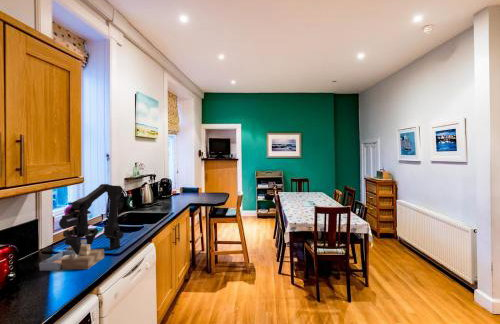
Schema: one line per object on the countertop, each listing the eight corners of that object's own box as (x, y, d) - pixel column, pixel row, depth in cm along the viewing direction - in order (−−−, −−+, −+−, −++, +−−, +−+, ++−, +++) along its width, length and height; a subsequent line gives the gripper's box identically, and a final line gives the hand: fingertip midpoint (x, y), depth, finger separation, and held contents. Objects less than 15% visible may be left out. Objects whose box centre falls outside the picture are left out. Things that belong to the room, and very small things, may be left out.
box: (63, 257, 146) (62, 250, 146) (81, 257, 146) (80, 250, 145) (39, 270, 130) (39, 263, 130) (59, 270, 130) (59, 262, 129)
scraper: (87, 249, 143) (87, 241, 143) (95, 249, 143) (95, 241, 143) (72, 259, 131) (71, 249, 131) (81, 258, 131) (80, 249, 131)
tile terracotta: (64, 259, 137) (64, 263, 137) (56, 259, 137) (56, 263, 137) (57, 263, 132) (57, 267, 132) (49, 263, 132) (49, 267, 132)
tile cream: (72, 255, 143) (72, 258, 143) (65, 255, 143) (65, 258, 143) (66, 258, 138) (67, 262, 138) (58, 258, 138) (59, 262, 138)
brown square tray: (80, 257, 145) (80, 249, 144) (104, 257, 144) (103, 248, 144) (61, 269, 131) (61, 260, 130) (88, 269, 130) (87, 259, 130)
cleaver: (67, 257, 147) (67, 253, 147) (49, 259, 145) (48, 255, 145) (91, 240, 176) (91, 237, 176) (76, 241, 174) (76, 238, 174)
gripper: (79, 219, 146) (80, 245, 147) (53, 229, 127) (55, 259, 128) (97, 218, 146) (99, 244, 146) (74, 228, 127) (76, 258, 128)
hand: (83, 251), depth 137 cm, fingers open, 9 cm apart
